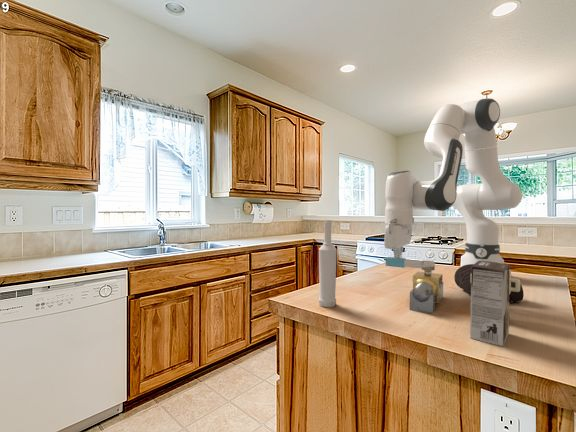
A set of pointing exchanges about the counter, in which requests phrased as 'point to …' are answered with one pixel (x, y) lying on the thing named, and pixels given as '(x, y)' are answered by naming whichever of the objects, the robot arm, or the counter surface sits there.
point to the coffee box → (490, 302)
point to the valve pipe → (426, 291)
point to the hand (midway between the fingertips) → (398, 259)
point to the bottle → (327, 269)
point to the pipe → (464, 283)
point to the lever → (410, 263)
